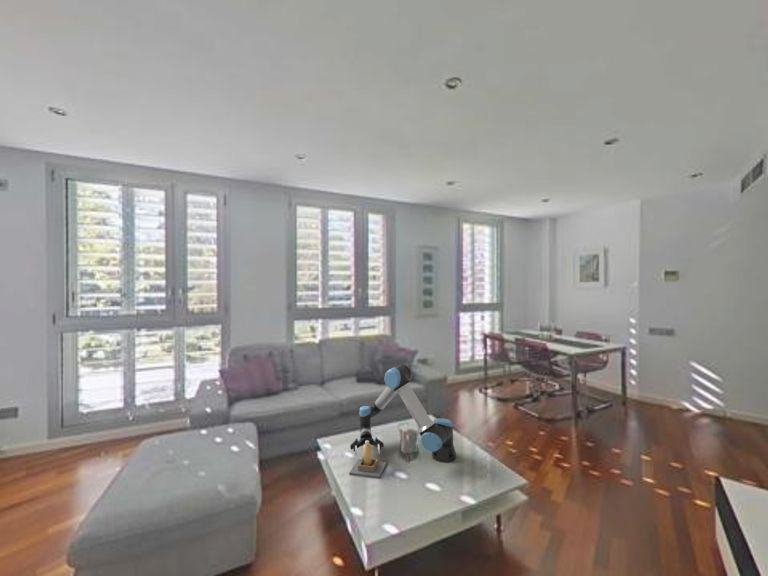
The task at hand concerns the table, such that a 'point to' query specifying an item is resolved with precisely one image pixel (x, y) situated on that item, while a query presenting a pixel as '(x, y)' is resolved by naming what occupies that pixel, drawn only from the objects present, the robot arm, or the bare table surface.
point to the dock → (368, 469)
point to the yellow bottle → (367, 454)
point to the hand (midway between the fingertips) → (367, 452)
